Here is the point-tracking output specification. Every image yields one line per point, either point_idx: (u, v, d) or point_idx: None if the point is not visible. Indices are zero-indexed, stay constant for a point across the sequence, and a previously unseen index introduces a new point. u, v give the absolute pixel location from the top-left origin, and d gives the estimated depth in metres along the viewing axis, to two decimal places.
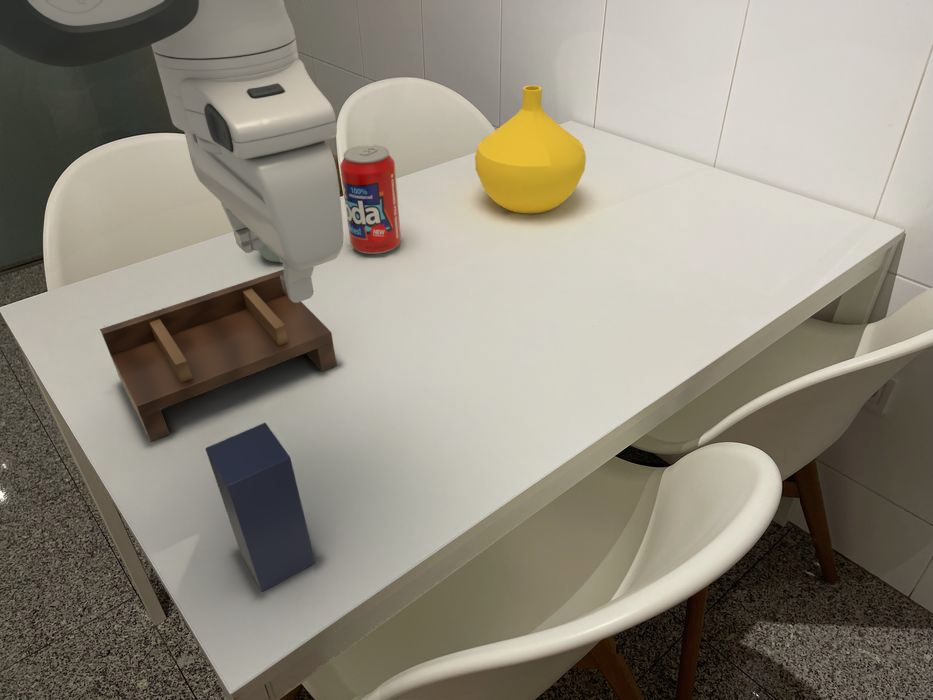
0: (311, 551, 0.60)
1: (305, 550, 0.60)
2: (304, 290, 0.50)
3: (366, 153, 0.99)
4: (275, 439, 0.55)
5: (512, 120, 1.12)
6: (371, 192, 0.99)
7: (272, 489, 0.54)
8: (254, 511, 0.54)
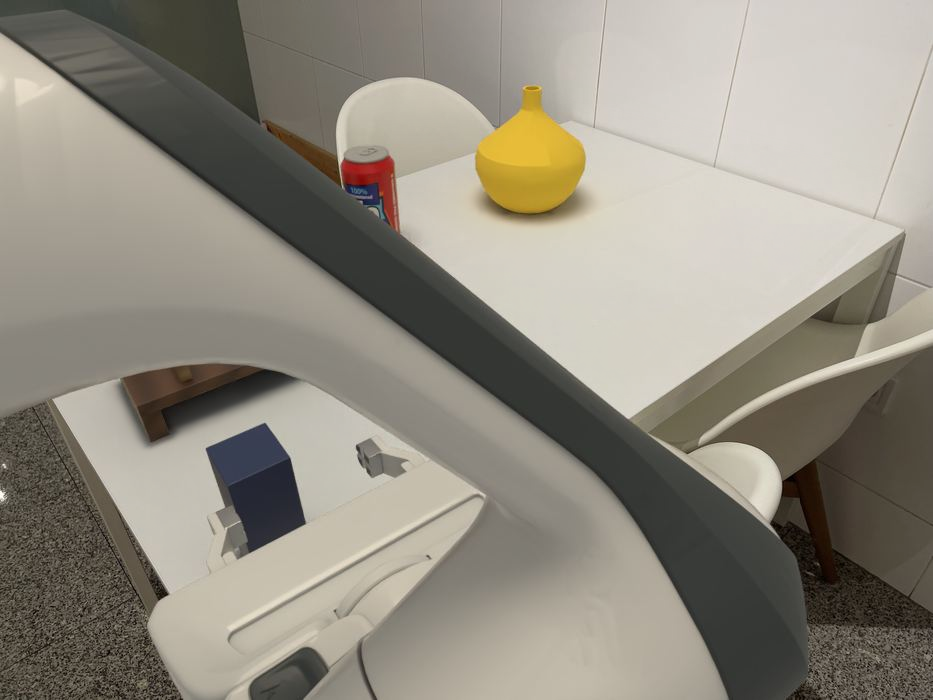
0: None
1: None
2: (214, 535, 0.39)
3: (366, 153, 0.99)
4: (275, 439, 0.55)
5: (512, 120, 1.12)
6: (371, 192, 0.99)
7: (272, 489, 0.54)
8: (254, 511, 0.54)
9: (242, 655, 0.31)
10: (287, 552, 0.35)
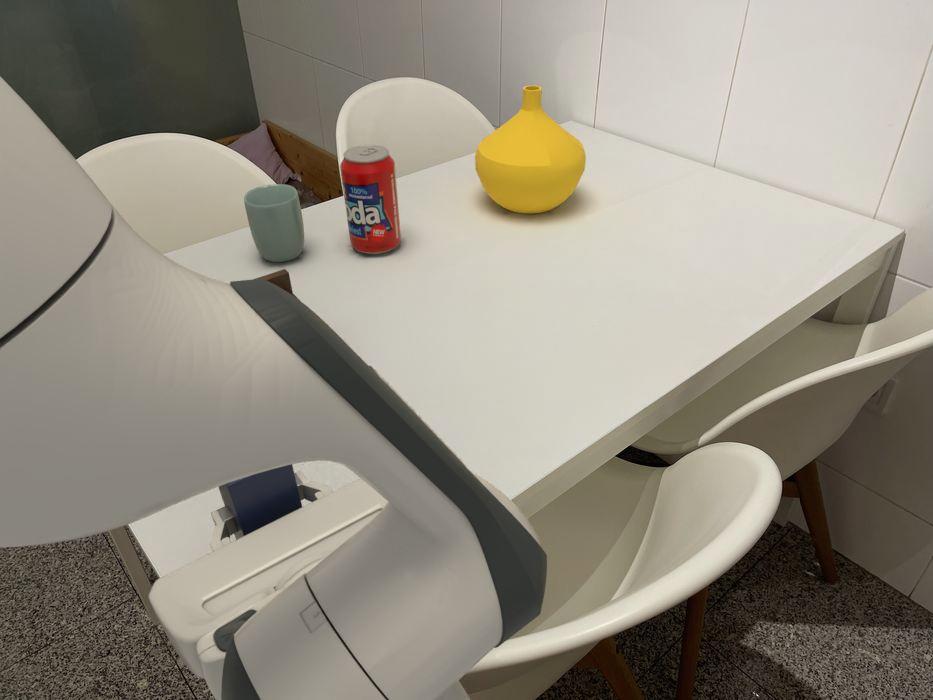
0: None
1: None
2: (215, 526, 0.56)
3: (366, 153, 0.99)
4: None
5: (512, 120, 1.12)
6: (371, 192, 0.99)
7: (272, 489, 0.54)
8: (254, 511, 0.54)
9: (211, 615, 0.47)
10: (245, 548, 0.52)
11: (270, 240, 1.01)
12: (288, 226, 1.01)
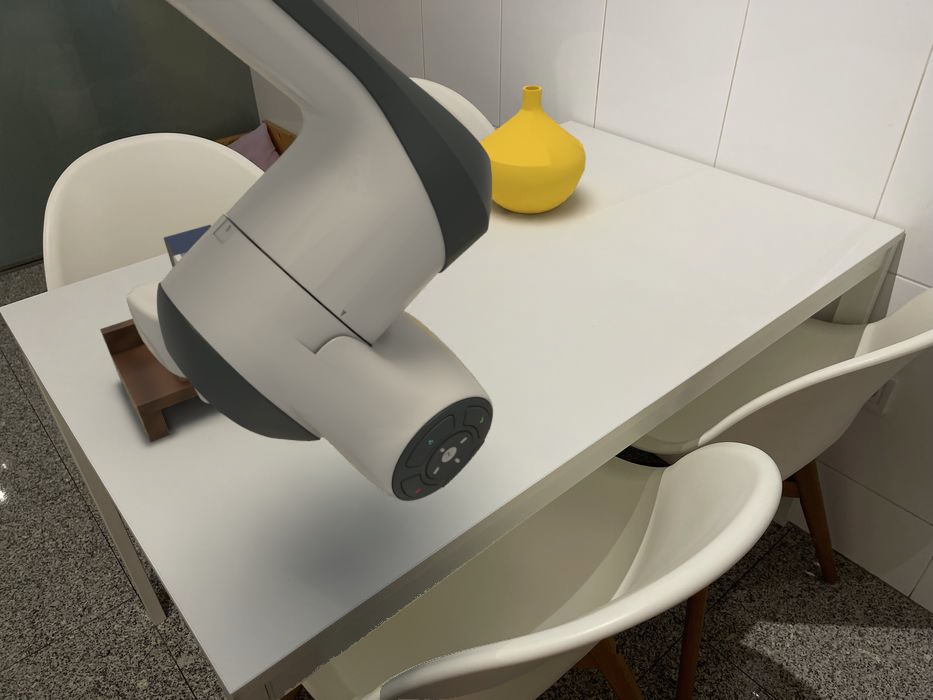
0: None
1: None
2: None
3: None
4: None
5: (512, 120, 1.12)
6: None
7: None
8: None
9: None
10: None
11: None
12: None
